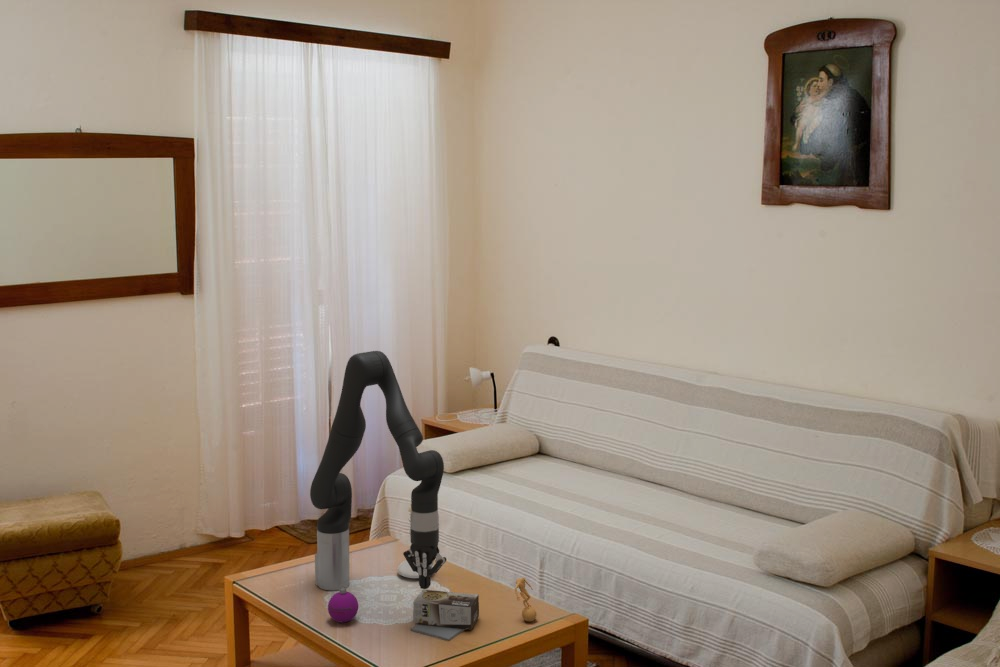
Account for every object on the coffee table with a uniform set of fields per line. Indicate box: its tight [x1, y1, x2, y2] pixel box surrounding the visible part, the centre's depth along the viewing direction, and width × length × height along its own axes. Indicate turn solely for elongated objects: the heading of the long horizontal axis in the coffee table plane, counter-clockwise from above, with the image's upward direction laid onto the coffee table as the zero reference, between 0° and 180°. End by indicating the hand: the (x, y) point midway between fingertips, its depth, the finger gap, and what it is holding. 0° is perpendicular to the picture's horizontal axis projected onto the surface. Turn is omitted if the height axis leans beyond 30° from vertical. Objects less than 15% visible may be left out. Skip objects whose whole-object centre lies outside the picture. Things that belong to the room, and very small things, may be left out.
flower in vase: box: [396, 505, 435, 579], centre depth 302 cm, size 13×11×25 cm
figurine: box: [514, 576, 538, 623], centre depth 272 cm, size 8×6×12 cm
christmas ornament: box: [327, 586, 359, 623], centre depth 271 cm, size 8×8×10 cm
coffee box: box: [412, 589, 480, 630], centre depth 271 cm, size 9×6×16 cm
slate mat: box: [410, 623, 466, 642], centre depth 268 cm, size 12×11×1 cm
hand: (424, 587), depth 269 cm, fingers closed
